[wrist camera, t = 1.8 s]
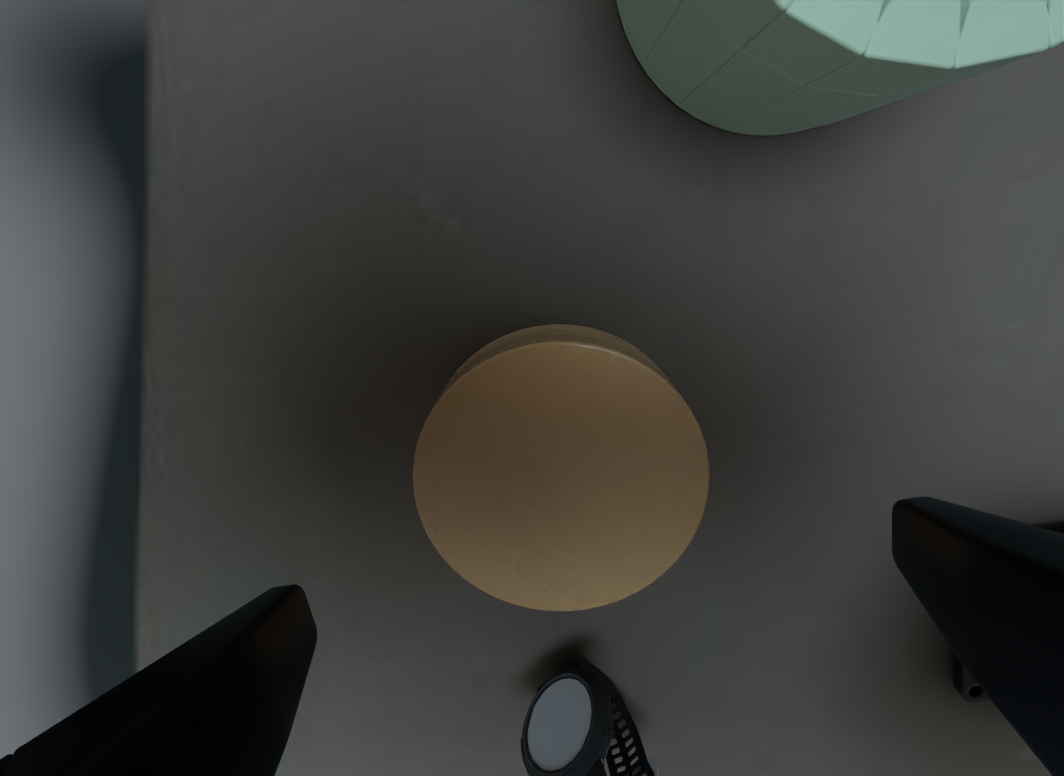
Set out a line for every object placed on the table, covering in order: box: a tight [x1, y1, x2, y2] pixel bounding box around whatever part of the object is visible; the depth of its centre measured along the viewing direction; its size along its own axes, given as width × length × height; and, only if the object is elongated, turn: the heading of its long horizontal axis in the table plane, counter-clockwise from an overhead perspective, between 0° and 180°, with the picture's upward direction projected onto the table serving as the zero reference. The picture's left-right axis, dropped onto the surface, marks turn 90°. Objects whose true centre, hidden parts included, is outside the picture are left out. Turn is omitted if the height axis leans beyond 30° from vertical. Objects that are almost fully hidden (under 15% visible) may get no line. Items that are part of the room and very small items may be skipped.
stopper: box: [413, 324, 710, 611], centre depth 15 cm, size 6×6×6 cm
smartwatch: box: [521, 660, 660, 776], centre depth 19 cm, size 4×5×5 cm
